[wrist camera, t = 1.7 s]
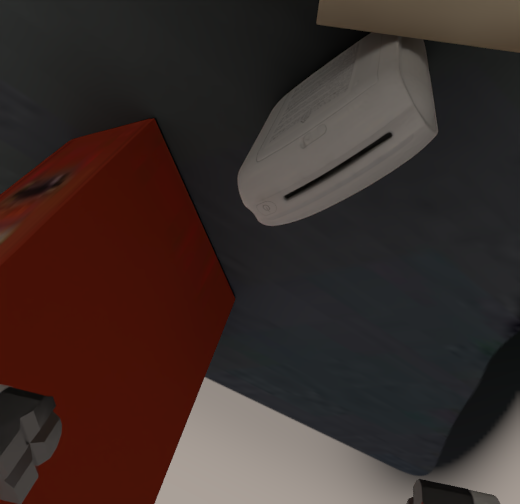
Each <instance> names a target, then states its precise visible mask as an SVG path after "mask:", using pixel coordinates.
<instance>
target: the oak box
mask: <svg viewBox="0 0 520 504" xmlns="http://www.w3.org/2000/svg"><path fill="white" fill-rule="evenodd" d="M316 24H317V25H324V26H332V27H339V28H346V29H353V30H360V31H367V32H375V33H382V34H389V35H396V36H403V37H410V38H418V39H425V40H432V41H439V42H446V43H453V44H461V45H468V46H475V47H482V48H489V49H496V50H504V51H511V52H518V53H520V0H319V7H318V14H317V21H316Z"/></svg>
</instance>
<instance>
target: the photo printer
mask: <svg viewBox="0 0 520 504" xmlns="http://www.w3.org/2000/svg"><path fill="white" fill-rule="evenodd" d="M437 133H438V126H437V119H436V112H435V106H434V98H433V93H432V86H431V79H430V73H429V67H428V60H427V53H426V47H425V43H424V41H423V39H418V38H410V37H403V36H396V35H389V34H382V33H375V32H371V33H370V34H368V35H367V36H365V37H364V38H362V39H361V40H359V41H358V42H356V43H355V44H354V45H352V46H351V47H350V48H348V49H347V50H345V51H344V52H342V53H341V54H340V55H338V56H337V57H335V58H334V59H333V60H331V61H330V62H328V63H327V64H326V65H324V66H323V67H322V68H320V69H319V70H317V71H316V72H315V73H313V74H312V75H311V76H309V77H308V78H307V79H305V80H304V81H303V82H301V83H300V84H299V85H298V86H296V87H295V88H294V89H293V90H291V91H290V92H289V93H287V94H286V95H285V96H284V97H283V98H282V99H281V100H280V101H279V102H278V103H277V104H276V105H275V107H274V108H273V109H272V111H271V113H270V115H269V117H268V118H267V120H266V122H265V124H264V126H263V128H262V130H261V131H260V133H259V135H258V137H257V139H256V141H255V143H254V144H253V146H252V148H251V150H250V152H249V153H248V155H247V157H246V159H245V161H244V163H243V164H242V166H241V168H240V170H239V173H238V189H239V193H240V196H241V199H242V202H243V204H244V205H245V206H246V207H247V208H248V209H249V210H251V211H252V212H253V213H254V215H255V216H256V218H257V220H258V221H259V222H260V223H262V224H264V225H267V226H276V225H282V224H287V223H291V222H294V221H297V220H300V219H303V218H306V217H308V216H311V215H313V214H315V213H318V212H320V211H322V210H324V209H326V208H328V207H330V206H332V205H334V204H336V203H338V202H340V201H342V200H344V199H346V198H348V197H350V196H352V195H353V194H355V193H357V192H359V191H360V190H362V189H364V188H366V187H368V186H369V185H371V184H373V183H374V182H376V181H377V180H379V179H381V178H382V177H384V176H386V175H387V174H389V173H390V172H392V171H393V170H395V169H396V168H398V167H399V166H401V165H402V164H404V163H405V162H406V161H408V160H409V159H411V158H412V157H413V156H415V155H416V154H417V153H418V152H419V151H421V150H422V149H423V148H424V147H425V146H426V145H427V144H428V143H429V142H430V141H431V140H432V139H433V138H434V137H435V136H436V135H437Z"/></svg>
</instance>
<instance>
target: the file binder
mask: <svg viewBox="0 0 520 504" xmlns="http://www.w3.org/2000/svg"><path fill="white" fill-rule="evenodd" d="M234 301H235V297H234V295H233V293H232V290H231V288H230V286H229V284H228V281H227V279H226V277H225V275H224V273H223V270H222V268H221V266H220V264H219V261H218V259H217V257H216V255H215V252H214V250H213V248H212V246H211V244H210V241H209V239H208V237H207V235H206V232H205V230H204V228H203V226H202V223H201V221H200V219H199V217H198V215H197V212H196V210H195V208H194V206H193V203H192V201H191V199H190V197H189V194H188V192H187V190H186V188H185V185H184V183H183V181H182V179H181V177H180V174H179V172H178V170H177V168H176V165H175V163H174V161H173V159H172V156H171V154H170V152H169V150H168V148H167V145H166V143H165V141H164V139H163V136H162V134H161V132H160V130H159V127H158V125H157V123H156V121H155V119H154V118H153V119H146V120H143V121H139V122H135V123H131V124H128V125H124V126H120V127H116V128H113V129H109V130H105V131H101V132H98V133H94V134H90V135H86V136H82V137H79V138H75V139H72V140H71V141H68V142H67V143H66V144H65V145H63V146H62V147H61V148H59V149H58V150H57V151H56V152H54V153H53V154H52V155H51V156H49V157H48V158H47V159H45V160H44V161H43V162H42V163H40V164H39V165H38V166H36V167H35V168H34V169H33V170H31V171H30V172H29V173H28V174H26V175H25V176H24V177H22V178H21V179H20V180H19V181H17V182H16V183H15V184H13V185H12V186H11V187H10V188H8V189H7V190H6V191H5V192H3V193H2V194H1V195H0V384H2V385H7V386H11V387H14V388H18V389H22V390H27V391H31V392H36V393H40V394H44V395H49V396H53V398H54V401H55V403H56V407H55V408H54V410H53V412H54V413H56V414H57V415H58V416H59V417H60V419H61V423H62V434H61V437H60V440H59V443H58V446H57V448H56V449H55V451H54V453H53V454H52V456H51V458H50V459H48V460H47V461H45V462H44V463H42V464H40V465H39V466H38V471H39V477H38V479H37V480H36V482H35V483H34V485H33V486H32V488H31V490H30V491H29V493H28V494H27V496H26V498H25V499H24V501H23V502H22V504H154V503H155V501H156V498H157V495H158V493H159V490H160V488H161V485H162V483H163V480H164V478H165V475H166V472H167V470H168V468H169V465H170V463H171V460H172V458H173V455H174V453H175V450H176V448H177V445H178V442H179V440H180V437H181V435H182V432H183V430H184V427H185V425H186V422H187V419H188V417H189V415H190V412H191V410H192V407H193V405H194V402H195V400H196V397H197V394H198V392H199V389H200V387H201V384H202V382H203V379H204V377H205V374H206V372H207V369H208V367H209V364H210V362H211V359H212V357H213V354H214V352H215V349H216V347H217V344H218V342H219V339H220V337H221V334H222V331H223V329H224V326H225V324H226V321H227V319H228V316H229V314H230V311H231V309H232V306H233V304H234ZM0 504H17V503H12V502H8V501H4V500H0Z"/></svg>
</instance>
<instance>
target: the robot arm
mask: <svg viewBox="0 0 520 504" xmlns="http://www.w3.org/2000/svg"><path fill="white" fill-rule="evenodd" d="M55 407H56V403H55V401H54V398H53V396H49V395H44V394H40V393H36V392H31V391H27V390H22V389H18V388H14V387H11V386H7V385H2V384H0V500H4V501H8V502H12V503H17V504H22V502H23V501H24V499H25V498H26V496H27V494H28V493H29V491H30V490H31V488H32V486H33V485H34V483H35V482H36V480H37V479H38V477H39V471H38V466H39V465H40V464H42V463H44V462H45V461H47V460H48V459H50V458H51V456H52V454H53V453H54V451H55V449H56V448H57V446H58V443H59V440H60V437H61V434H62V423H61V419H60V417H59V416H58V415H57V414H56V413H54V412H53V410H54V408H55ZM407 504H500V502H499V501H498V499H497V498H496V497H495V496H494V495H490V494H485V493H481V492H476V491H472V490H468V489H465V488H460V487H455V486H451V485H445V484H441V483H436V482H431V481H426V480H421V479H418V480H417V481H416V482H415V484H414V487H413V497H412V498H409V499H408V501H407Z"/></svg>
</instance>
